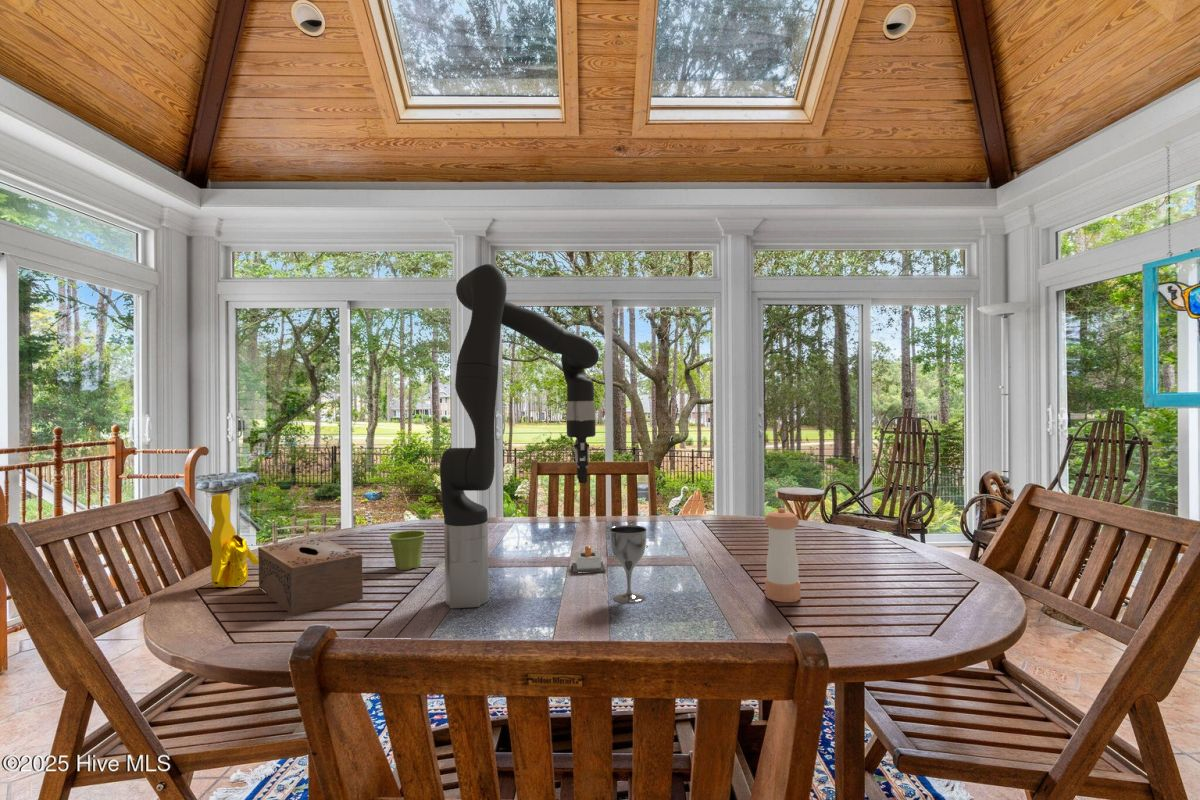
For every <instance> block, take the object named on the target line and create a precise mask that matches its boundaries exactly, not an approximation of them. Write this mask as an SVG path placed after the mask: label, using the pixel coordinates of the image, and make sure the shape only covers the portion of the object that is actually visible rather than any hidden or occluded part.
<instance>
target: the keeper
mask: <svg viewBox="0 0 1200 800" xmlns="http://www.w3.org/2000/svg"><path fill="white" fill-rule="evenodd" d="M584 552H585V557H587V556H591V552H592V546H591V545H586V546H584ZM571 566H573V568H572V570H573V572H574V573H578V572H606V571H607V570H606V568H605V565H604V562H603V561H601V569H591V570H577V567H576V562H571ZM574 573H573V574H574Z"/></svg>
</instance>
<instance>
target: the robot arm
mask: <svg viewBox="0 0 1200 800" xmlns="http://www.w3.org/2000/svg"><path fill="white" fill-rule="evenodd" d="M507 289H508V287H507V282H506V278H505V275H504V274H503V272H502V271H501V269H500V268H498V267H497V266H496V265H494V264H489V263H485V264H482V265H479V266H477V267H475V268H473V269H472V270H470V271H469V272H468V273H466V274H464V275H463V276H462V277H461V278H460V279H459V280H458V281H457V283H456V287H455V293H456V294H455V295H456V296H457V299H458V301H459V303H461V305H463V306H464V307H465V308H466V309H468V310H470V311H471V317H470V318H471V319H470V324H469V327H468V329H467V332H466V335H465V337H464V338H463V339H464V340H463V342H462V345H461V348H460V350H459V353H458V356H457V361H456V370H455V371H456V372H455V380H454V382H455V383H454V385H455V387H454V388H455V391H456V395H457V397H458V399H459V401H460V403H461V404H462V406H463V408H464V410H465V411H466V413H467V415H468V416H469V417H468V418H469V419H470V421H471V423H472V426H473V430H474V431H473V432H474V440H475V446H474V447H452V448H448V449H446V450H444V452H443V453H442V455H441V458H440V464H439V480H440V482H439V483H440V491H441V492H440V493H441V508H442V513H443V521H444V522H443V524H444V525H443V529H444V531H443V532H444V534H443V535H444V544H443V545H444V586H445V589H444V590H445V591H444V596H445V597H444V598H445V599H444V600H445V605H447V606H448V607H449V609H462V608H463V609H464V608H467V609H468V608H479V607H481V606H482V605H484V604H486V603H487V602H489V600H490V591H489V590H490V586H489V585H490V584H489V583H490V582H489V531H488V530H489V526H488V525H489V524H488V522H489V521H488V520H489V519H488V517H489V516H488V509H487V508H486V507H485V506H484V505H481V504H480V503H477V502H475V501H473V500H472V499H470V498H469V497H468V496H467V495H466V493H465V491H470V492H473V491H474V492H475V491H478V492H479V491H480V492H481V491H482V492H483V491H487V490H489V488H491V486H492V484H493V481H494V476H495V465H496V464H495V460H496V459H495V453H496V452H495V448H496V447H495V418H496V416H495V413H496V404H497V403H496V401H497V391H498V378H499V377H498V376H499V356H500V343H501V330H502V329H501V328H502V325H503V326H504V327H507V328H508V329H511V330H513V331H515V332H516V333H519V334H520V335H522V336H524V337H526V338H528V339H529V340H531V341H532V342H533V343H535V344H537V346H538V345H539V346H540V347H541V348H543V349H544V350H546V351H548V352H549V353H552V354H556V355H561V358H560V360H561V361H560V362H561V367H562V368H561V369H562V372H563V377H564V380H565V383H566V398H567V399H566V400H567V401H566V409H565V410H566V437H568V438H575V442H574V443H573V452H574V459H575V460H574V461H575V464H576V478H577V481H578V483H579V484H586V483H587V482H588V472H587V471H588V467H589V460H590V459H589V458H590V455H589V454H590V453H589V452H590V444H589V443H588V442H587V438H594V437H595V436H596V408H595V407H596V406H595V387H594V381H593V380H592V379H590V378H587V376H586V371H585V370H586V369H590V368H593V367H595V365H596V364H597V363H598V361H599V359H600V358H599V357H600V354H599V351H598V348H597V346H596V345H595V344H594V343H593V342H592V341H591V340H589V339H588V338H586V337H583V336H582V335H578V334H577V333H574V332H573V331H569V330H567V329H565V328H564V327H562V326H561V325H560V324H558V323H557V322H555V321H554V320H552V319H551V318H550V317H548V316H546V315H544V314H542V313H539V312H537V311H535V310H534V311H533V310H530V309H528V308H526V307H522V306H518V305H517V304H514V303H512V302H509V301H508V300H506V298H507Z"/></svg>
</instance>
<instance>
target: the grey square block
mask: <svg viewBox="0 0 1200 800" xmlns="http://www.w3.org/2000/svg"><path fill="white" fill-rule="evenodd" d="M574 554H575V563H576V567H577V570H591V569H601V562H602V557H601V555H600V554H601V553H600V552H599V551H598V550H596V551H592V550H591V556H587V557H585V551H575V553H574Z"/></svg>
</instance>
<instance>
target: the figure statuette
mask: <svg viewBox="0 0 1200 800" xmlns="http://www.w3.org/2000/svg"><path fill="white" fill-rule="evenodd" d="M210 509H211V510H210V511H211V515H212V517H213V520H214V521H213V522H214V523H213V526H212V529H211V533H210V537H209V542H210V543H209V544H210V549H211V551H212V552H211V553H212V559H211V560H212V561H211V566H210V575H211V584H212V586H213V588H214V587H221V588H226V587H225V586H227V587H234V586H238V585H241V584H243V583H245V582H246V581H247V580H248V581H249V569H248V564H247V559H248V560H249V561H250V563H251V565H253V566H256V565H257V564H258V565H259V557H257V556H256V555H255V553H254V552H253V551H252V550H251V549H250V547H249V546H248V544H247V540H246V538H243V537H242V536H241V535H240V534H237V532H236V529H235V527H234V526H233V524H232V522H231V520H230V513H231V501H230V497H229V495H228V493H218V494H215V495H212V496H211V502H210ZM248 581H247V582H248ZM247 582H246V583H247ZM246 583H245V584H246Z"/></svg>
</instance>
